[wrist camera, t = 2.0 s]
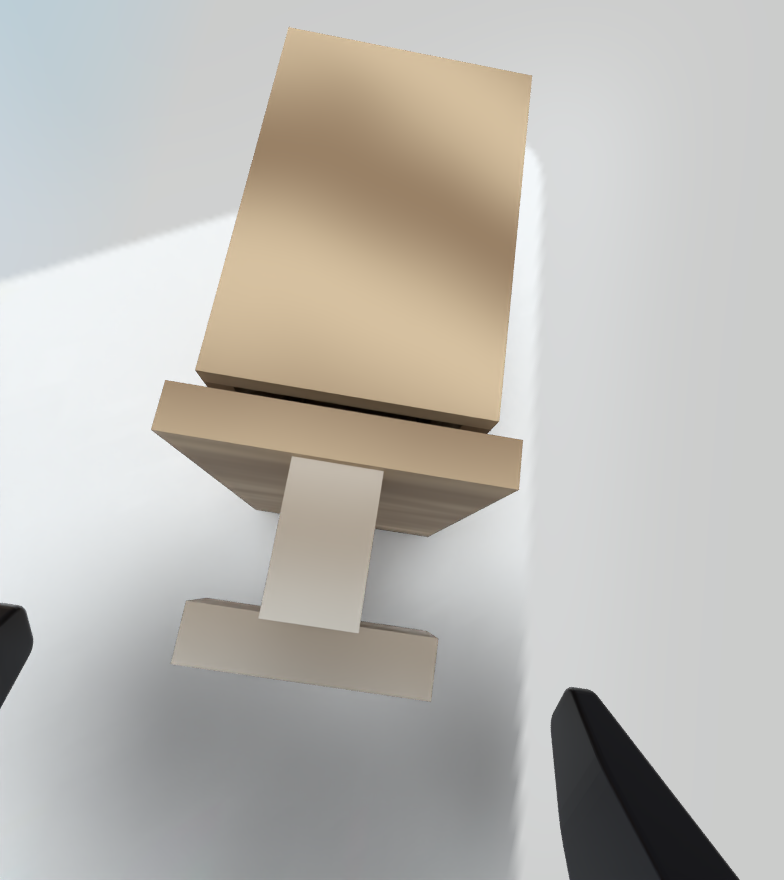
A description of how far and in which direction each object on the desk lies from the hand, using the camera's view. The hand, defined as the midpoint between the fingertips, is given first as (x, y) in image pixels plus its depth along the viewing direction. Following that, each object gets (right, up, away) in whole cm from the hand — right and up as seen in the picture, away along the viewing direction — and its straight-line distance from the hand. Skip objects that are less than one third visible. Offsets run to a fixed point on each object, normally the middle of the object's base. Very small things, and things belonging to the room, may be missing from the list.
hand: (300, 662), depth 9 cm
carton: (0, +6, +14) cm, 15 cm away
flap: (-1, -1, +12) cm, 12 cm away
